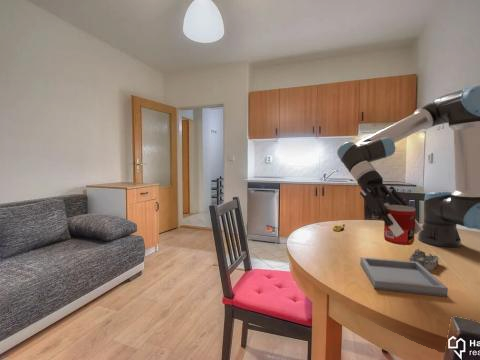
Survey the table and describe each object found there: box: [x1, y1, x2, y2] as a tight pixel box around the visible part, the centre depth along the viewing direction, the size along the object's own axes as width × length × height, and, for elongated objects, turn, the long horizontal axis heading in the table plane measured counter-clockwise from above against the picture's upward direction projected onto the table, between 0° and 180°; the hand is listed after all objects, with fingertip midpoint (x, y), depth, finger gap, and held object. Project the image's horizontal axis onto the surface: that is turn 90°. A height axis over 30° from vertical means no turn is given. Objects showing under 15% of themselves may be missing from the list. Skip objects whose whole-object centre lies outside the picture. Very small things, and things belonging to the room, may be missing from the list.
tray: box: [359, 256, 449, 298], centre depth 77 cm, size 18×18×2 cm
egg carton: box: [408, 248, 441, 271], centre depth 87 cm, size 11×8×4 cm
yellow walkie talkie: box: [332, 224, 346, 232], centre depth 136 cm, size 5×2×15 cm
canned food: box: [383, 204, 417, 246], centre depth 76 cm, size 8×8×11 cm
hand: (409, 233), depth 73 cm, fingers closed on canned food, 8 cm apart
